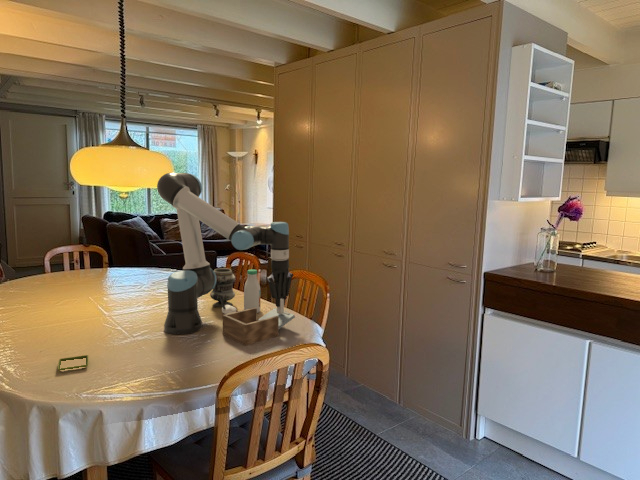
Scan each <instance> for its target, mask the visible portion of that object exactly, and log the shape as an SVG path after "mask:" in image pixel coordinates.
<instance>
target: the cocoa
mask: <svg viewBox="0 0 640 480" xmlns="http://www.w3.org/2000/svg"><path fill="white" fill-rule="evenodd" d="M219 298H220V301H221V303H222V306H223V307H222V308H221V315H225V314H229V313H234V312H238V310H237V307H235V306H234V305H233V306H231V305H224V302H223V299H222V296H221V295H219Z"/></svg>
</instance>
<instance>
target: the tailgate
mask: <svg viewBox="0 0 640 480" xmlns="http://www.w3.org/2000/svg"><path fill="white" fill-rule="evenodd" d="M274 316H278V317H279V329H278V330H280V329H281V328H282V327H284V326H285V325H286V324H288V323H289V322H290V321H292V320H293V319H295V318H296V316H295V314H294V313H290V312H287V311H285V310H284V314H278V313H277V307H274V308H272V309H271V310H270V311H268V312H267V313H265V314H264V315H262V316H261V317H260V318H257V321H259V320H263V319H267V318H271V317H274Z"/></svg>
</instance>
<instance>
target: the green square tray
mask: <svg viewBox="0 0 640 480" xmlns="http://www.w3.org/2000/svg"><path fill="white" fill-rule="evenodd" d="M83 358H86V365H81V366H74V367H67V368H61V369H60V365H61V361H66V360H74V359H83ZM88 366H89V354H88V355H87V354H86V355H78V356H70V357H64V358H59V359H58V364H57V370H58V371H59V370H65V369H73V368H79V367H86V368H87V367H88Z"/></svg>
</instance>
